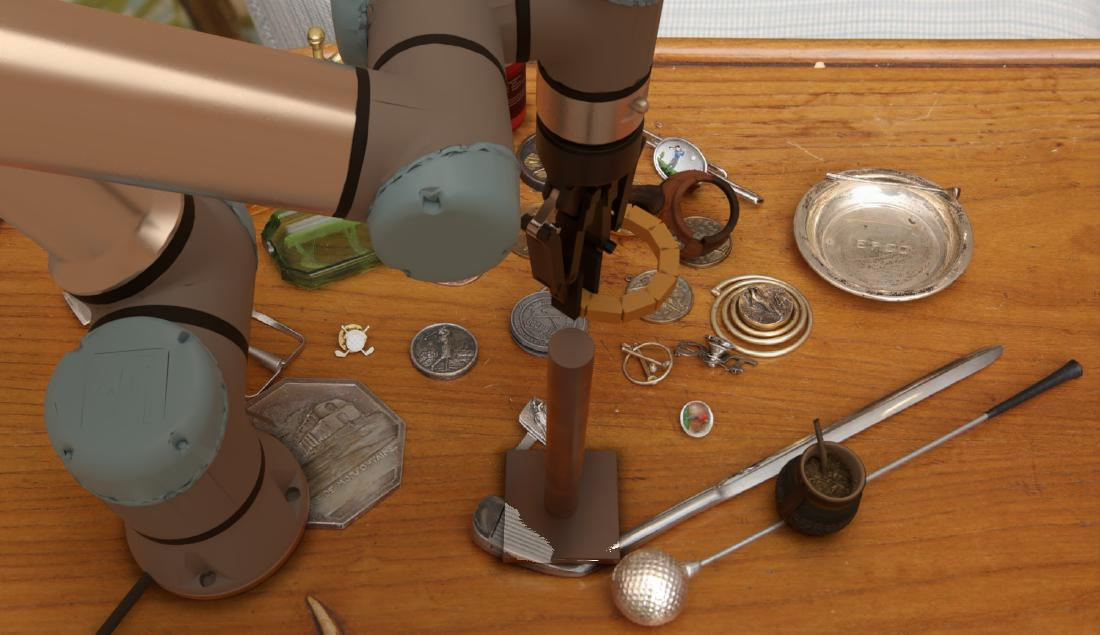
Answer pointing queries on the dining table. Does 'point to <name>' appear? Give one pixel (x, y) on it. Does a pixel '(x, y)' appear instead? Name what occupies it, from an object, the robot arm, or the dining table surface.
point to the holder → (567, 466)
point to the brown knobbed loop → (671, 195)
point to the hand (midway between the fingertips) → (574, 300)
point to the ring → (655, 290)
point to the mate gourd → (820, 487)
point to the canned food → (516, 92)
